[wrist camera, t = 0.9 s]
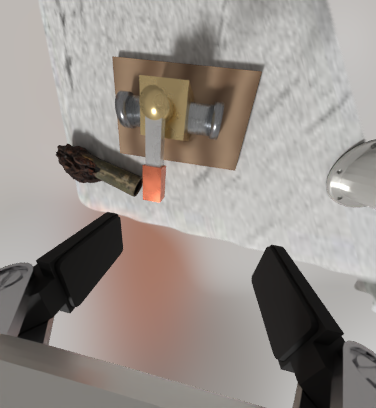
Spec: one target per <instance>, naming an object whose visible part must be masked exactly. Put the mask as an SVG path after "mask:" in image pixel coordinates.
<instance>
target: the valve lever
mask: <svg viewBox="0 0 376 408" xmlns="http://www.w3.org/2000/svg"><path fill="white" fill-rule="evenodd" d="M139 104H140V108H141V111H142V112H143V114H144V115H145V154H146V164H145V165H142V166H143V200H149V201H154V202H161V201H162V199H163V198H164V194H165V176H166V166H164V144H165V123H166V122H168V121H169V120H170V119H171V118H172V116H173V111H174V108H173V104H172V101H171V100H170V98H169V97H168V96H167V95H166V94H165V93H164V92H163V90H162V89H161V88H159V87H158V86H156V85H148V86H146V87H145V88H144V89H143V90H142V92H141V94H140V97H139Z"/></svg>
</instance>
